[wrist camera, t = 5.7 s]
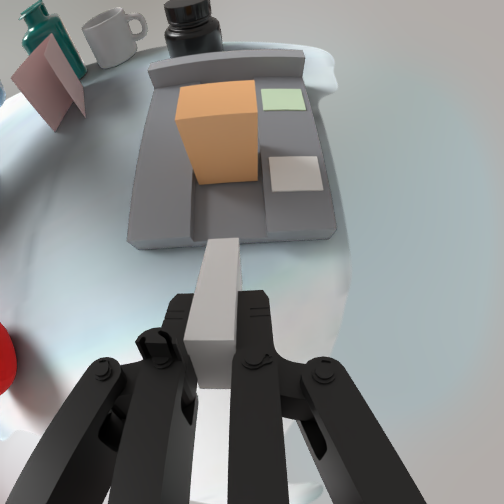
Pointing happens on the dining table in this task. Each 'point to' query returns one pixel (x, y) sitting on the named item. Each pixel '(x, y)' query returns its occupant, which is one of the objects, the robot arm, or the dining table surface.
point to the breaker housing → (233, 193)
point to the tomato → (6, 360)
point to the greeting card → (49, 82)
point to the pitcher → (43, 27)
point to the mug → (113, 36)
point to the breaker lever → (220, 130)
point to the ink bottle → (191, 28)
